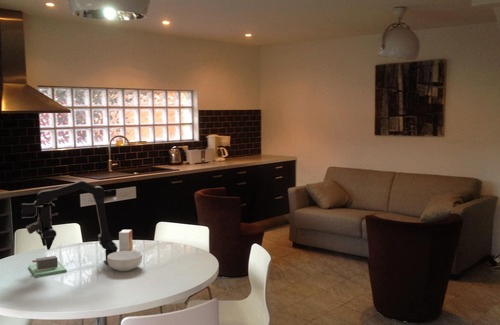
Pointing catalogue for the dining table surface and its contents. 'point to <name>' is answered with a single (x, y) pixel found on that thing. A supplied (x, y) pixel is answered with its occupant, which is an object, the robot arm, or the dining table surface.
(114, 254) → the cereal bowl
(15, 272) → the dining table surface
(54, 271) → the pin board
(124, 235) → the small box
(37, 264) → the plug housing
